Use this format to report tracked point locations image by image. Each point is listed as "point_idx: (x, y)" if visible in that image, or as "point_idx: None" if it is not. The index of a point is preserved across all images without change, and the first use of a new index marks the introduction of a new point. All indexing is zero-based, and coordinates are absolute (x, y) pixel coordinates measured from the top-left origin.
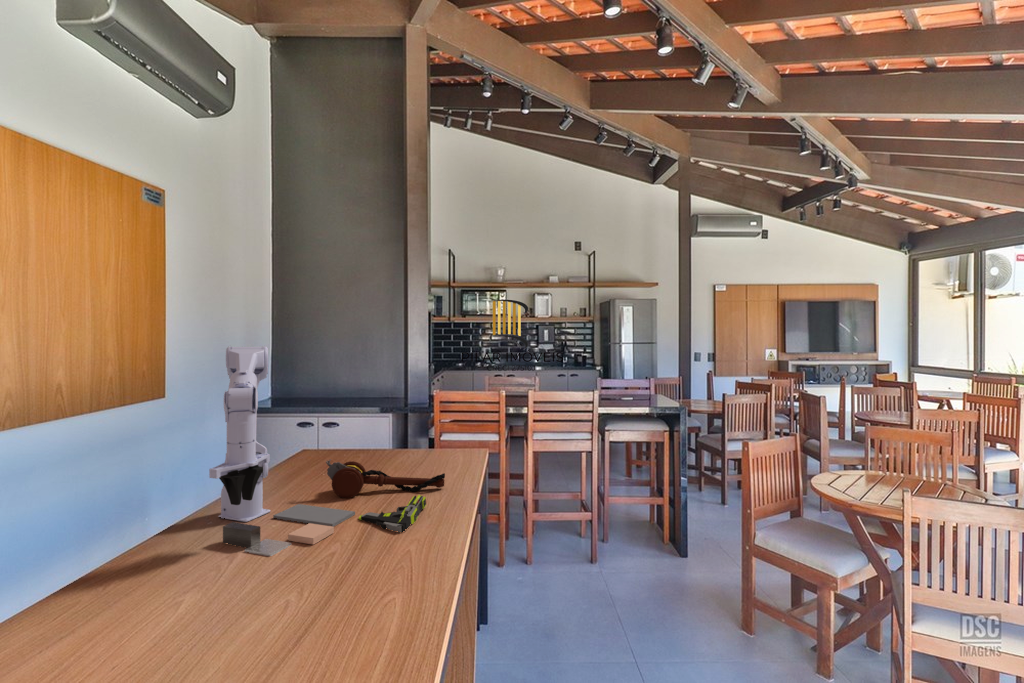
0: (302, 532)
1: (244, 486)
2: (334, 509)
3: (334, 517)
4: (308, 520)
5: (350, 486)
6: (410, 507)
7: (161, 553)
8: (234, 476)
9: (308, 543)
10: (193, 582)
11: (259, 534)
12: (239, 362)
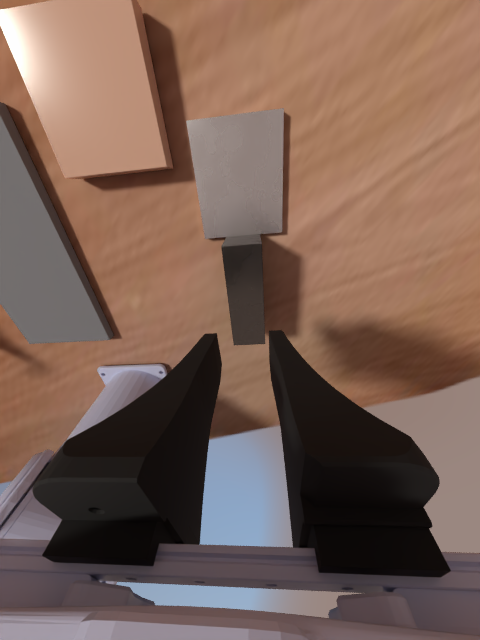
0: (125, 119)
1: (208, 406)
2: None
3: None
4: (54, 226)
5: None
6: None
7: (334, 376)
8: (421, 490)
9: (148, 46)
10: (475, 189)
11: (227, 241)
12: None
